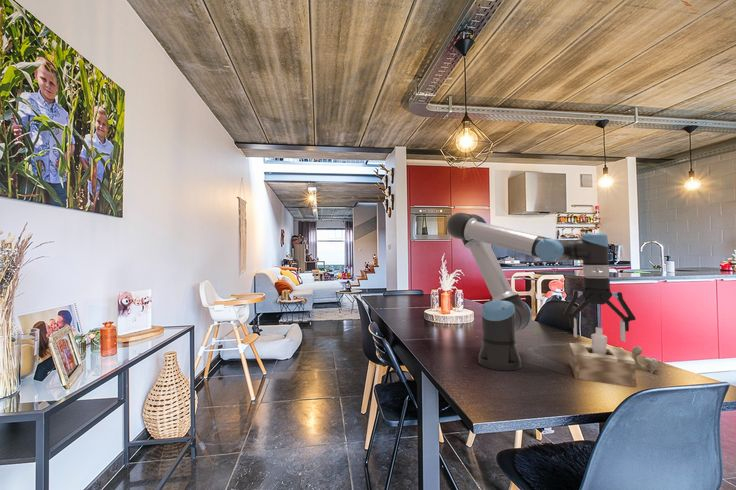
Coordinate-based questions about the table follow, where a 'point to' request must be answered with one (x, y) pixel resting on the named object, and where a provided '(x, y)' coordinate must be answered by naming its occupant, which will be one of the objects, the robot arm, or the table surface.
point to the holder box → (602, 365)
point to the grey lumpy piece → (651, 362)
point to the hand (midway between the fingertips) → (598, 338)
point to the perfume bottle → (599, 342)
